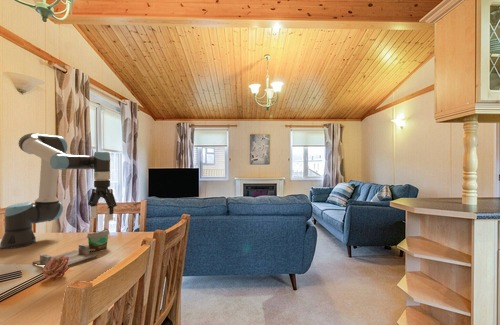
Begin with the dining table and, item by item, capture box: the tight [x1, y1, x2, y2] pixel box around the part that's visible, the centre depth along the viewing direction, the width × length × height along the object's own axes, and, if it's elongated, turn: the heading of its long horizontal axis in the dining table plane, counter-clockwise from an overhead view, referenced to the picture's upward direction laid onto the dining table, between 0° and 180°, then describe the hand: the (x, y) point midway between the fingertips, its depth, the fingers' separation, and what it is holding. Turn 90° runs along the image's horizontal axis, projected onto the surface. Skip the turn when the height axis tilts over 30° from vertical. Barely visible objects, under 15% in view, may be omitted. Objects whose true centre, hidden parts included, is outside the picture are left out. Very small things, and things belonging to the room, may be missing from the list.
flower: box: [42, 255, 70, 281], centre depth 101 cm, size 10×9×8 cm
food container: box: [86, 228, 110, 253], centre depth 135 cm, size 12×6×10 cm, turn 168°
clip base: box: [32, 243, 98, 268], centre depth 118 cm, size 18×18×5 cm
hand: (101, 219), depth 135 cm, fingers open, 13 cm apart
